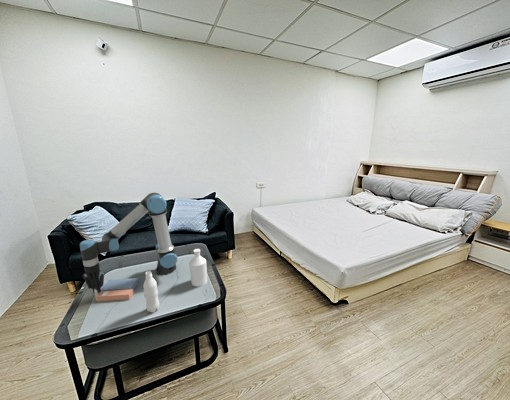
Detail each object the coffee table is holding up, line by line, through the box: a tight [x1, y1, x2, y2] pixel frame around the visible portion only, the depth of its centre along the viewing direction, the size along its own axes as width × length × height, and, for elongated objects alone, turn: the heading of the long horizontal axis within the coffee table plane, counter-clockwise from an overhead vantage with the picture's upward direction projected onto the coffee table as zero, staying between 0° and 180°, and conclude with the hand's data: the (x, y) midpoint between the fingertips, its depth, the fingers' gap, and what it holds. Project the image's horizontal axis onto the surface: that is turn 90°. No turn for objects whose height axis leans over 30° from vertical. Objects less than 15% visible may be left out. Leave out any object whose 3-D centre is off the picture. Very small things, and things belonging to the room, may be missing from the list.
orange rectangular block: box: [95, 289, 134, 302], centre depth 140 cm, size 20×6×4 cm, turn 95°
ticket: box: [100, 277, 139, 291], centre depth 150 cm, size 20×12×4 cm, turn 95°
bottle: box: [188, 248, 208, 288], centre depth 154 cm, size 12×12×25 cm
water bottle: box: [142, 270, 160, 314], centre depth 127 cm, size 7×7×25 cm
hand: (98, 297), depth 140 cm, fingers closed
